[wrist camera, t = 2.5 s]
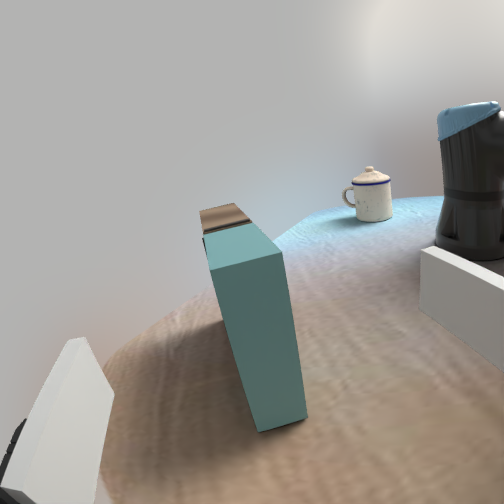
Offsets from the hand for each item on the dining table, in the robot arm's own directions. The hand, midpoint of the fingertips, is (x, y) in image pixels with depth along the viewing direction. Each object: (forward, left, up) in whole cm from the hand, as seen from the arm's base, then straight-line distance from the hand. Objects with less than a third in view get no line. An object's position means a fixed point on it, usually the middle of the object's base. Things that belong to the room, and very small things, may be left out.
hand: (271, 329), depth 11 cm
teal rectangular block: (-8, -7, -14) cm, 17 cm away
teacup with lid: (-62, -12, -14) cm, 65 cm away
